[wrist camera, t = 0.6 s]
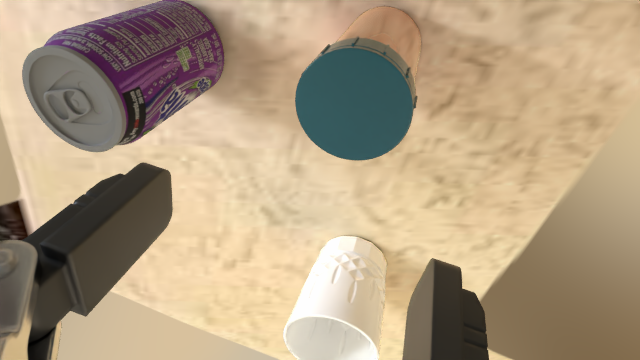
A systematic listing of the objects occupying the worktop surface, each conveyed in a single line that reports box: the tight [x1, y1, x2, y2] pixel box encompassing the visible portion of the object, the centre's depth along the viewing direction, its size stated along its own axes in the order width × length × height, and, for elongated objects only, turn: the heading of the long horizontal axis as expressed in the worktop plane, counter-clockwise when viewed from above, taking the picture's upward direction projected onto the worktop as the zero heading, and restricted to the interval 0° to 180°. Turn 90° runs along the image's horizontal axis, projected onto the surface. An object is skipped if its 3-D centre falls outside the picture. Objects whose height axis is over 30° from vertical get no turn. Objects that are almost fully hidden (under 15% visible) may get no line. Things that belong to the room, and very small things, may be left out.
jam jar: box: [336, 6, 421, 82], centre depth 23 cm, size 5×5×11 cm
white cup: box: [283, 236, 387, 360], centre depth 35 cm, size 8×8×10 cm
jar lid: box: [295, 36, 417, 160], centre depth 19 cm, size 6×6×2 cm
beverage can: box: [22, 0, 224, 152], centre depth 26 cm, size 7×7×12 cm
